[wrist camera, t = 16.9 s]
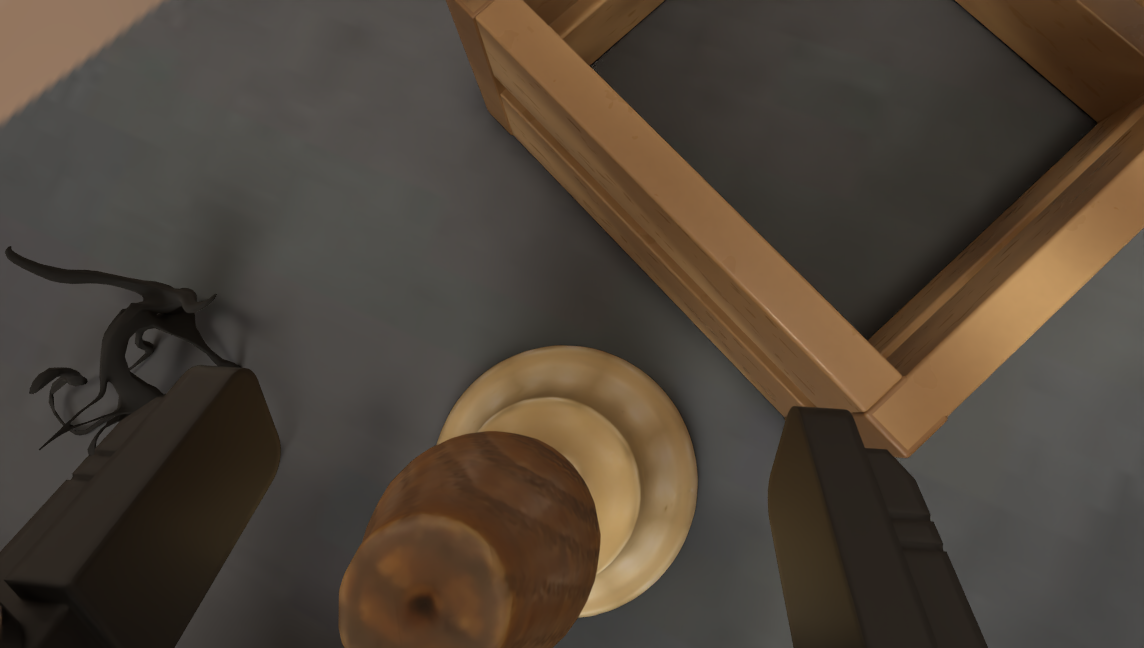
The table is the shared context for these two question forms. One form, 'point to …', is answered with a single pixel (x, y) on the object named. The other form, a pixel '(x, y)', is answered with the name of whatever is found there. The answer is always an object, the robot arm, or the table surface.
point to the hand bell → (526, 509)
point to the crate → (763, 277)
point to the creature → (123, 339)
